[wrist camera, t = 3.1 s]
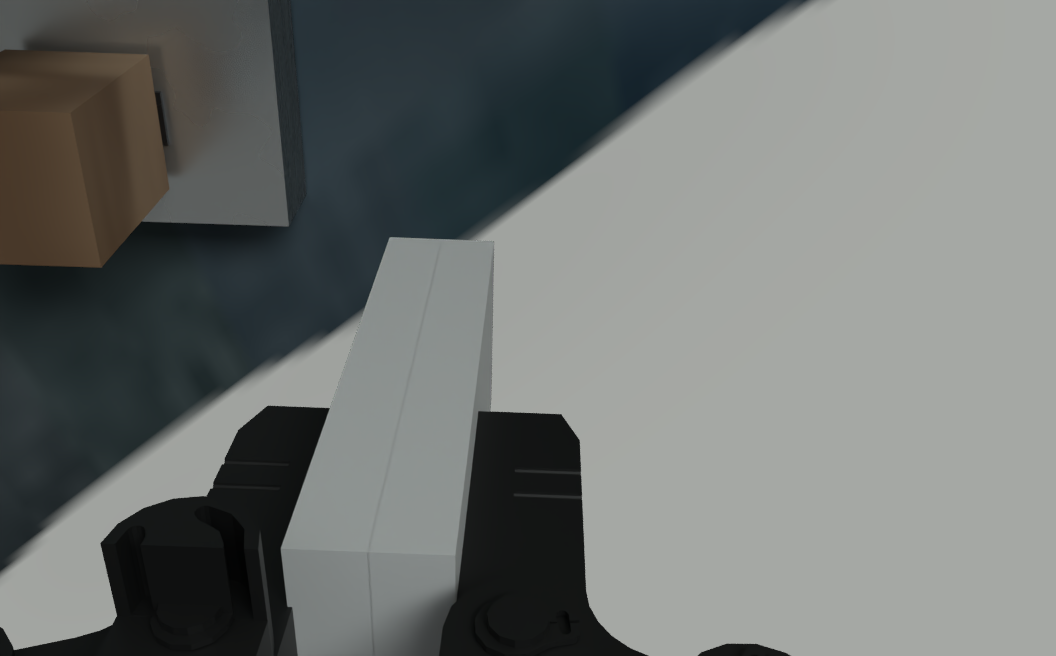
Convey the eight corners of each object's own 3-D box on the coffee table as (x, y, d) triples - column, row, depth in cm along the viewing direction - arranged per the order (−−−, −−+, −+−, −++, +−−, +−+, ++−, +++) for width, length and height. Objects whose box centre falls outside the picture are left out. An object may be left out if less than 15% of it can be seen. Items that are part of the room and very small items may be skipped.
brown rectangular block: (35, 184, 22) (-59, 262, 19) (4, 49, 21) (-103, 107, 17) (169, 188, 22) (101, 267, 19) (148, 54, 21) (70, 112, 17)
